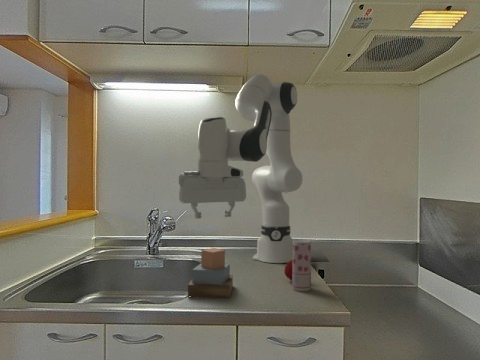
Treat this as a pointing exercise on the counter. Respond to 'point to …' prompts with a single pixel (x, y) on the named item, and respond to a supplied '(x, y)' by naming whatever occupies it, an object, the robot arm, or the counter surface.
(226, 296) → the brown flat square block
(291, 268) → the onion
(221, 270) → the grey block
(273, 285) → the counter surface
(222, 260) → the rust cube
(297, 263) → the beverage can
